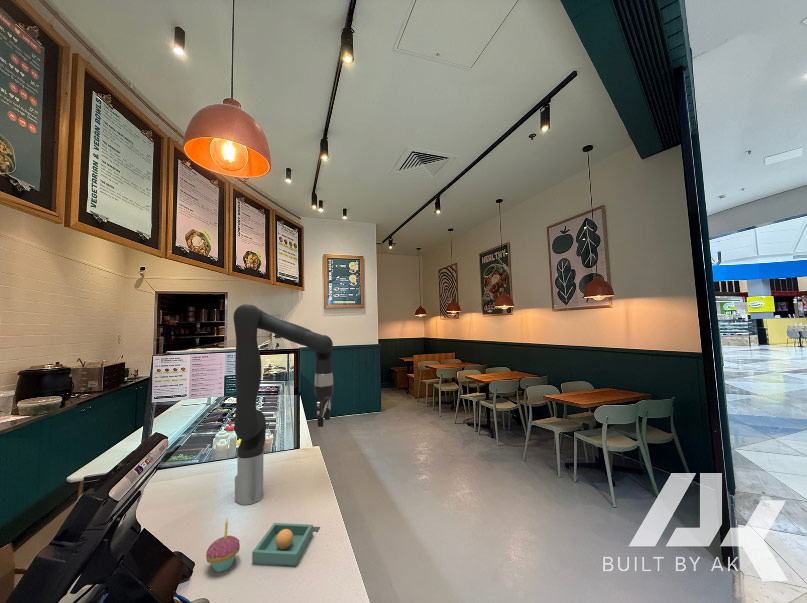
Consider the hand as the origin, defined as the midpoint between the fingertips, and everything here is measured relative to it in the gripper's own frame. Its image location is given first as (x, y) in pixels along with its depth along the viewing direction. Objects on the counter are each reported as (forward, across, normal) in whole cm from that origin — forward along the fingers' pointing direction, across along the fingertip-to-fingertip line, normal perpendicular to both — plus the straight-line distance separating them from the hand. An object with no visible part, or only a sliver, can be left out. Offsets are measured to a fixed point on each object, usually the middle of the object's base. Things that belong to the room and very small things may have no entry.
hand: (324, 423), depth 136 cm
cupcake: (+26, +43, -15) cm, 53 cm away
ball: (+23, +36, 0) cm, 42 cm away
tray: (+26, +36, 0) cm, 44 cm away
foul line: (+26, +26, 0) cm, 37 cm away
